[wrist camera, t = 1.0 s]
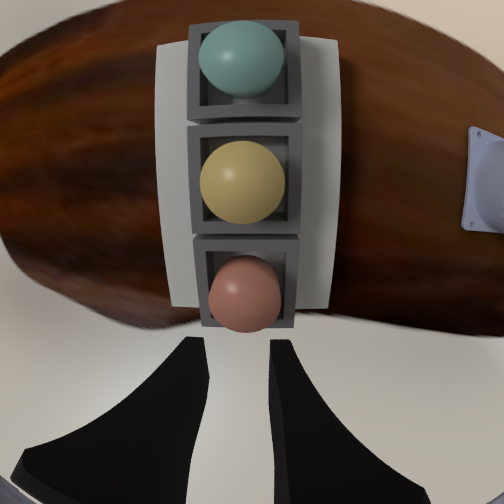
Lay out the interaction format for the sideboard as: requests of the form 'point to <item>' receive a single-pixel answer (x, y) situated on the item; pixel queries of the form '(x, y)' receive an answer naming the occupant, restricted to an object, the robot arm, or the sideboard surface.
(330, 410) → the robot arm
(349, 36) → the sideboard surface
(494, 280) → the sideboard surface
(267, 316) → the brick button
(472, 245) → the sideboard surface
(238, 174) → the ochre button
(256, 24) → the teal button
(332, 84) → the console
